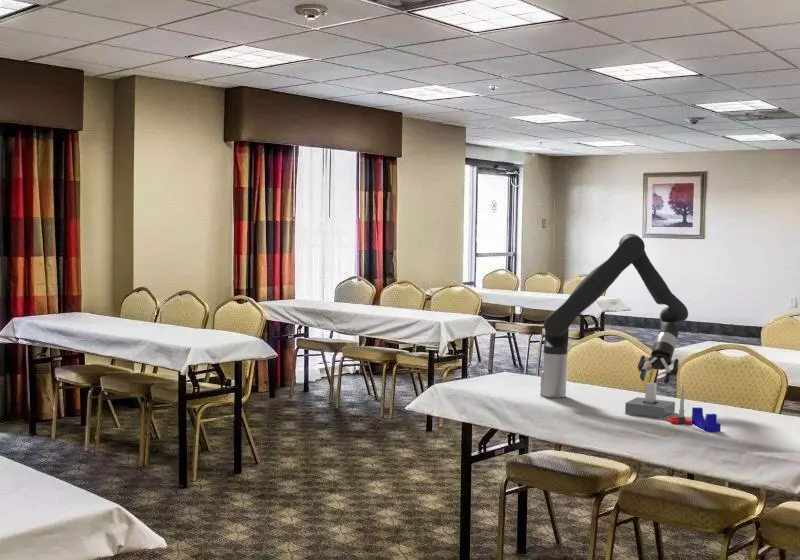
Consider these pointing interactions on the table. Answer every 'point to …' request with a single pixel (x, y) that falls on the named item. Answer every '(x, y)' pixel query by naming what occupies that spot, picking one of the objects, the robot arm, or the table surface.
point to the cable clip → (707, 424)
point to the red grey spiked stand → (680, 413)
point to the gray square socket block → (650, 408)
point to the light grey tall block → (650, 393)
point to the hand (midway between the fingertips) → (653, 381)
